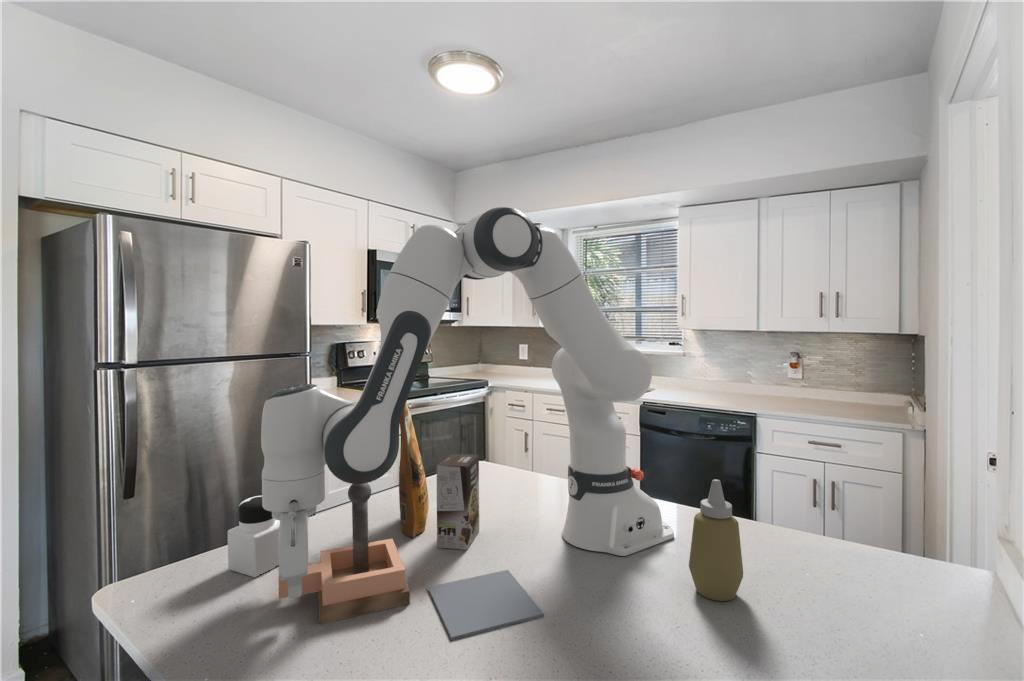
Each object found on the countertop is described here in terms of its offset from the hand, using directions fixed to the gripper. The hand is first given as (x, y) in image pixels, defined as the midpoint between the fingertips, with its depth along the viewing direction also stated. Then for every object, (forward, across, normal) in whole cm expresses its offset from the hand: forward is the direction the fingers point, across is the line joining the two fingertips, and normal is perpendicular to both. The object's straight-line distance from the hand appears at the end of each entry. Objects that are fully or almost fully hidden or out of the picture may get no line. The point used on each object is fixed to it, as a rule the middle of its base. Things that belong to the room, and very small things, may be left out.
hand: (295, 579), depth 76 cm
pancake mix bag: (+4, +24, -23) cm, 33 cm away
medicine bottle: (+4, +16, +6) cm, 18 cm away
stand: (+4, 0, -10) cm, 10 cm away
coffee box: (+4, +12, -30) cm, 32 cm away
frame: (+2, 0, -7) cm, 7 cm away
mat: (+4, -11, -27) cm, 29 cm away
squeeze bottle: (+4, -23, -62) cm, 66 cm away
